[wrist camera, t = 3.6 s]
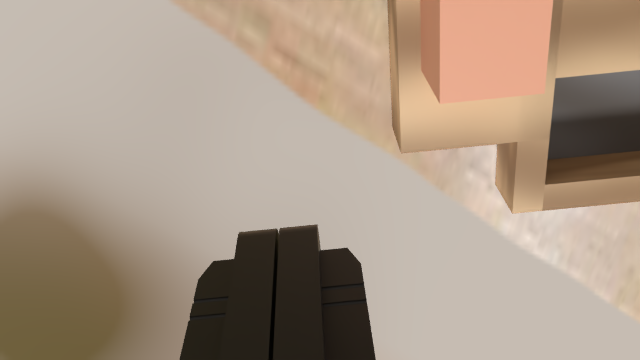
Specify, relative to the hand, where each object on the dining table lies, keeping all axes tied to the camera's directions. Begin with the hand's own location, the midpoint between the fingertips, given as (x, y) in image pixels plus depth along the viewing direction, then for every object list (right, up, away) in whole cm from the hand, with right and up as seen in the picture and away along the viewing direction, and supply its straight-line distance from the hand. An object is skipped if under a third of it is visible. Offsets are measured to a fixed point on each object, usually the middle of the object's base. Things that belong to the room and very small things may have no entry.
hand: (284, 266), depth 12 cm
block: (+7, +8, +14) cm, 18 cm away
